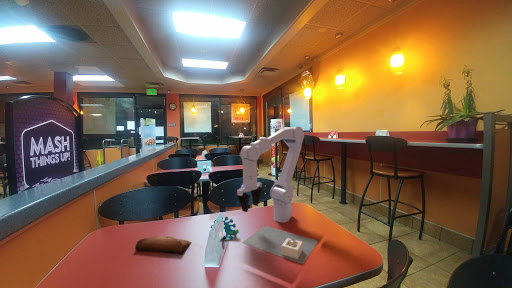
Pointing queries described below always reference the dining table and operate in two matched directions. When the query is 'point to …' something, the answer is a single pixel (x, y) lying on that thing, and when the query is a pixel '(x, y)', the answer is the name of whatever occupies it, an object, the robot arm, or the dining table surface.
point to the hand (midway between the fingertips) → (250, 208)
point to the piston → (292, 243)
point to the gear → (229, 228)
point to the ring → (291, 249)
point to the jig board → (279, 242)
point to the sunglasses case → (163, 244)
